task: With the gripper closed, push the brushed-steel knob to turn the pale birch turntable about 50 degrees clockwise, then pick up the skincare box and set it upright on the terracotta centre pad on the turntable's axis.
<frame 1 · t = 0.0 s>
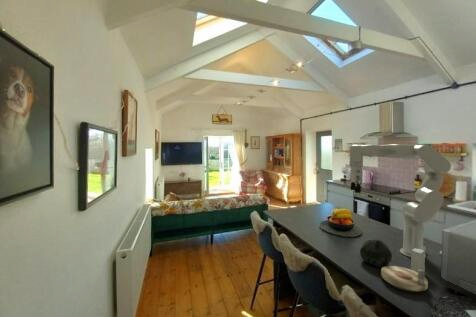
hand: (355, 191, 145), 37 cm above the kitchen island, tool pointing down, fingers open, 9 cm apart
skincare box: (417, 273, 117), on the kitchen island
turntable base: (403, 283, 109), on the kitchen island
turntable: (403, 271, 109), point 6 cm above the kitchen island, hinge at 0.0°
squash: (375, 264, 128), on the kitchen island
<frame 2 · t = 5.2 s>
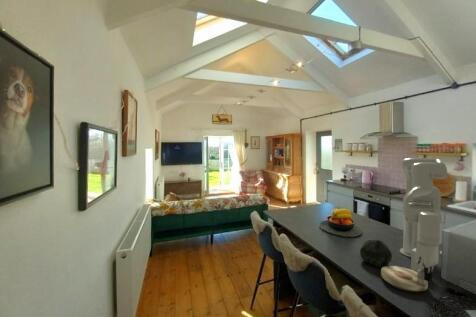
hand: (426, 279, 103), 5 cm above the kitchen island, tool pointing down, fingers closed
turntable: (403, 271, 109), point 6 cm above the kitchen island, hinge at -2.3°, touching gripper
everything else where it was.
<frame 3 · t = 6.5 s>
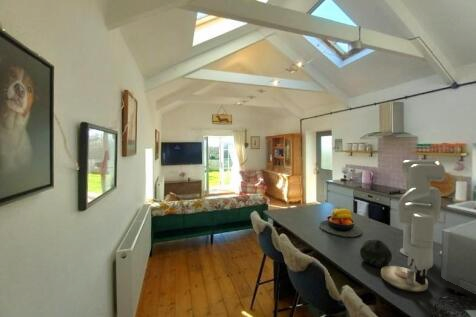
hand: (420, 282, 101), 5 cm above the kitchen island, tool pointing down, fingers closed
turntable: (403, 271, 109), point 6 cm above the kitchen island, hinge at -38.5°, touching gripper
everything else where it was.
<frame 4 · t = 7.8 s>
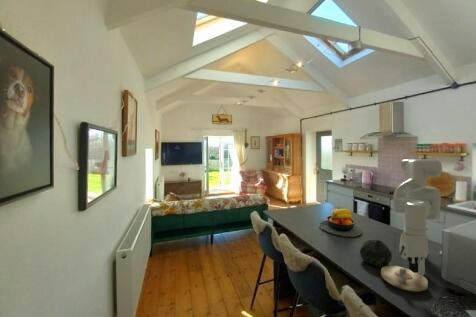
hand: (413, 271, 101), 10 cm above the kitchen island, tool pointing down, fingers closed
turntable: (403, 271, 109), point 6 cm above the kitchen island, hinge at -59.9°
everything else where it was.
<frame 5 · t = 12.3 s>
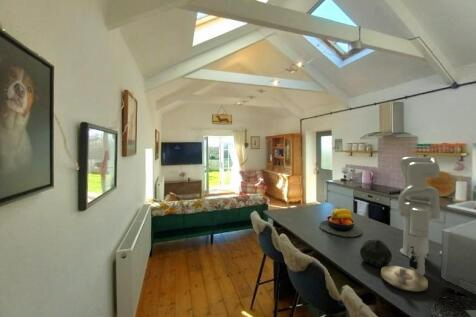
hand: (417, 266, 117), 4 cm above the kitchen island, tool pointing down, fingers closed on skincare box, 6 cm apart
skincare box: (417, 273, 117), on the kitchen island, touching gripper
everything else where it was.
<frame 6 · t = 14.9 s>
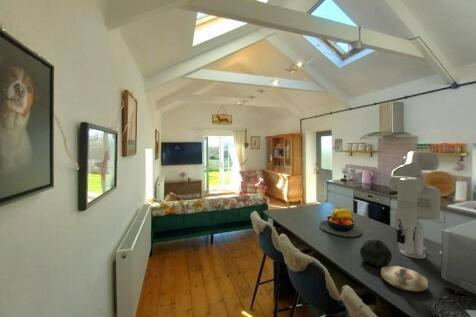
hand: (405, 241, 109), 20 cm above the kitchen island, tool pointing down, fingers closed on skincare box, 6 cm apart
skincare box: (405, 249, 109), point 16 cm above the kitchen island, touching gripper
everything else where it was.
when the fingers open (9 cm above the kitchen island, at t = 17.5 s): skincare box drops 1 cm, resting on turntable.
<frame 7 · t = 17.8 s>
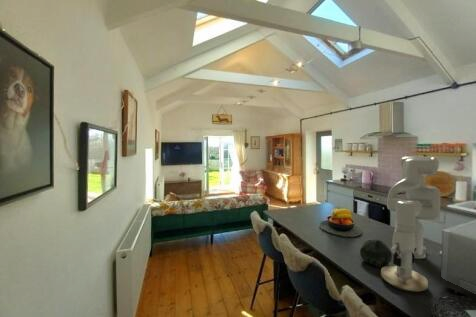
hand: (403, 263, 108), 10 cm above the kitchen island, tool pointing down, fingers open, 9 cm apart
skincare box: (404, 275, 109), point 4 cm above the kitchen island, touching turntable
turntable: (403, 271, 109), point 6 cm above the kitchen island, hinge at -59.9°, touching skincare box
everything else where it was.
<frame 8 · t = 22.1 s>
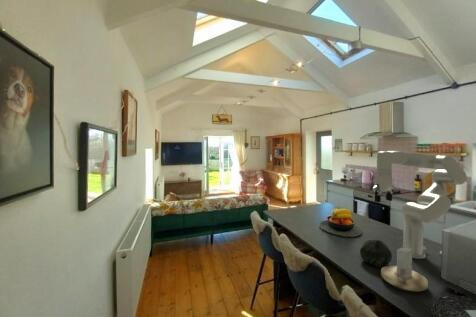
hand: (383, 201, 135), 33 cm above the kitchen island, tool pointing down, fingers open, 9 cm apart
nothing on the kitchen island moved.
at the end: turntable at -60° (first picture: +0°); skincare box 0.5 cm from the turntable (horizontally); skincare box tilted 0° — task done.
